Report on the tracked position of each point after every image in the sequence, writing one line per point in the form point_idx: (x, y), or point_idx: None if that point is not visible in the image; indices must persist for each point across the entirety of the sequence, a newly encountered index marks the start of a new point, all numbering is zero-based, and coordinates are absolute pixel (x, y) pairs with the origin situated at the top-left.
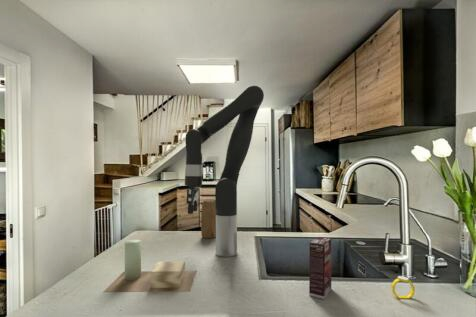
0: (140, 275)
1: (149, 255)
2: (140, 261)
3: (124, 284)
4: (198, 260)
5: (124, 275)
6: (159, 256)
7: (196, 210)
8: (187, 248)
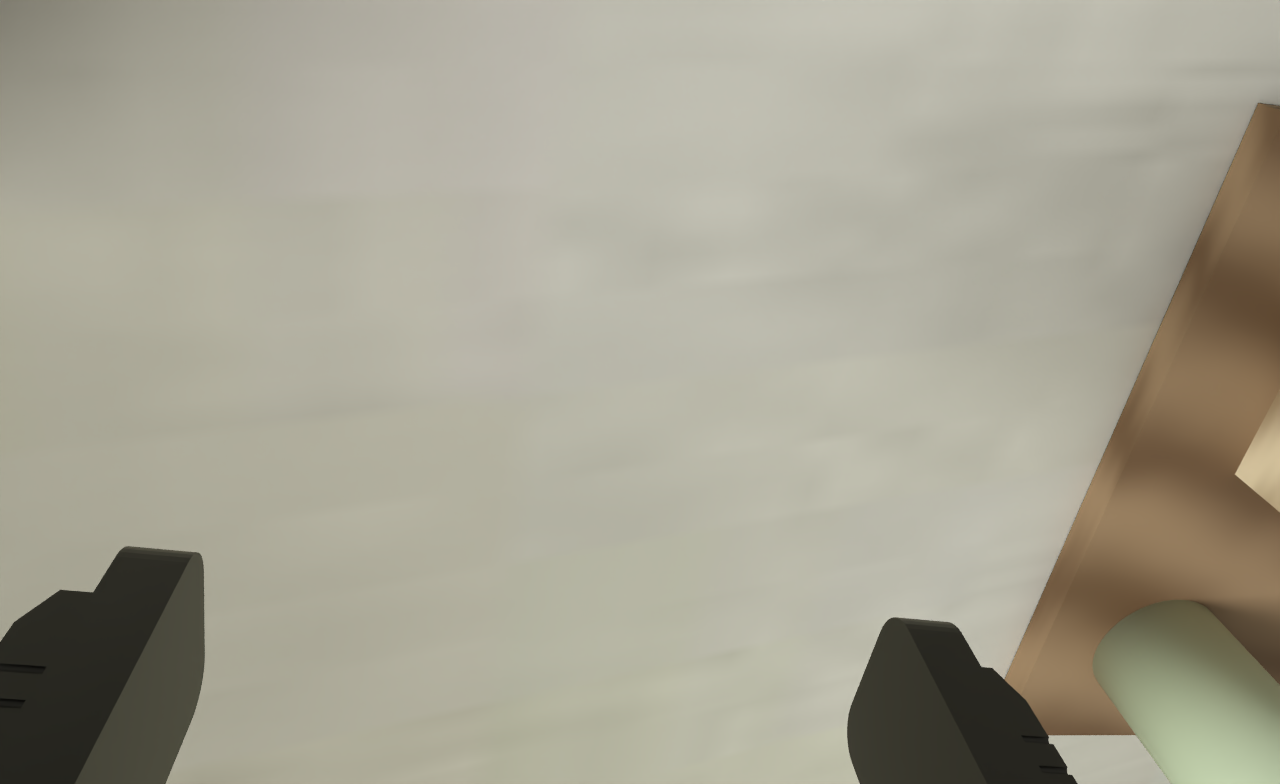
0: (1192, 609)
1: (487, 660)
2: (1277, 703)
3: (1272, 661)
4: (784, 87)
5: (1091, 708)
6: (536, 564)
7: (191, 565)
8: (177, 276)
